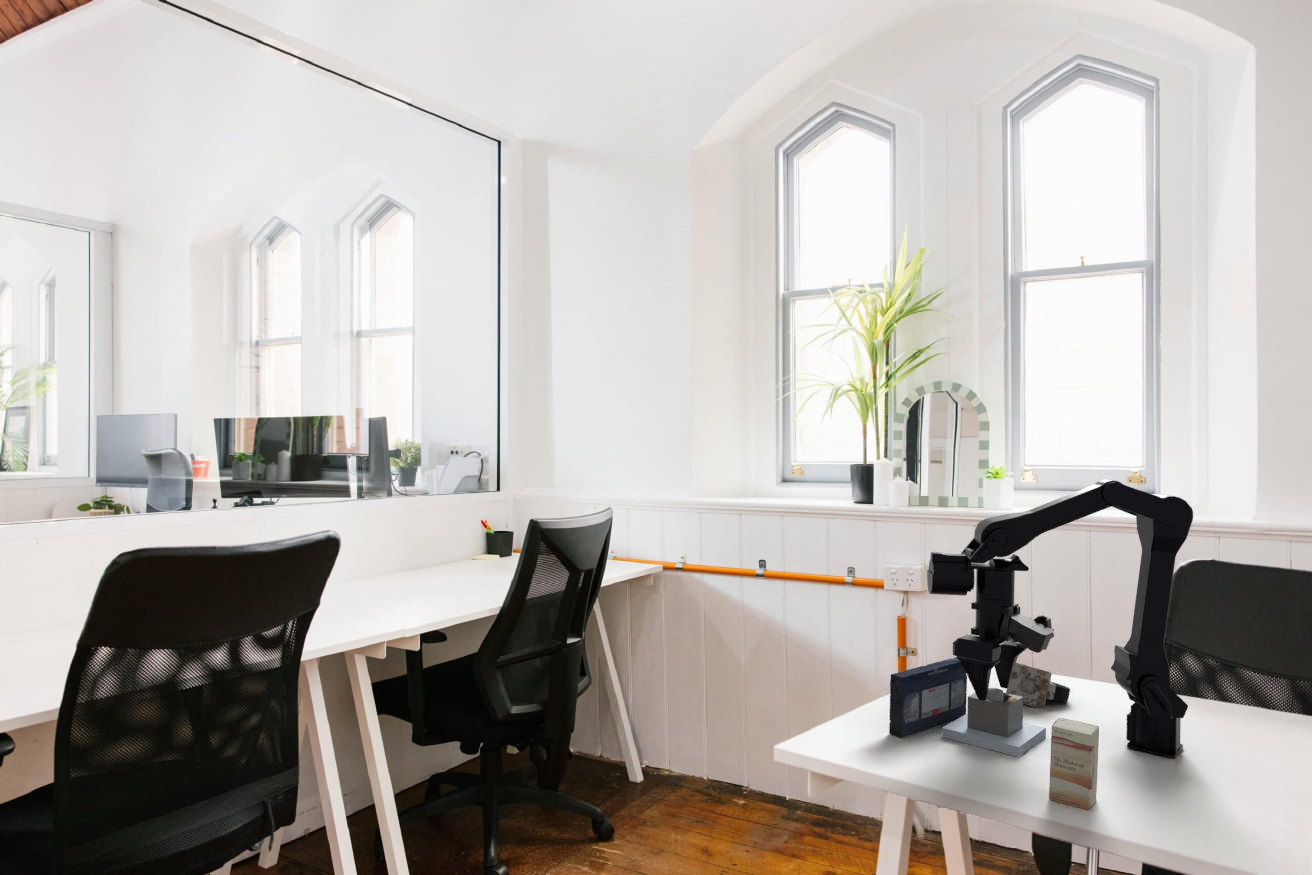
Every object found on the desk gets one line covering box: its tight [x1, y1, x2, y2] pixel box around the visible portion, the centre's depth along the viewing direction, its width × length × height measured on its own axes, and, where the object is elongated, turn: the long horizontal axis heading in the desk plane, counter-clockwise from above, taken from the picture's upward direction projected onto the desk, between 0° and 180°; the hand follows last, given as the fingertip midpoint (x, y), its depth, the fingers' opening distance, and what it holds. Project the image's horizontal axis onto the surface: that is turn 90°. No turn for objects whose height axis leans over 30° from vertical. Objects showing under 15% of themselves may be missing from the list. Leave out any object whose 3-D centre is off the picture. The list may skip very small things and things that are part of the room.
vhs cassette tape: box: [888, 657, 968, 739], centre depth 140 cm, size 18×3×10 cm, turn 126°
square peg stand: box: [941, 687, 1047, 758], centre depth 135 cm, size 12×12×8 cm
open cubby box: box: [967, 692, 1024, 738], centre depth 135 cm, size 6×6×5 cm
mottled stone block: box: [1005, 662, 1071, 710], centre depth 155 cm, size 7×11×10 cm
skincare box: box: [1048, 717, 1100, 811], centre depth 112 cm, size 5×4×10 cm
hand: (993, 693), depth 135 cm, fingers open, 9 cm apart
